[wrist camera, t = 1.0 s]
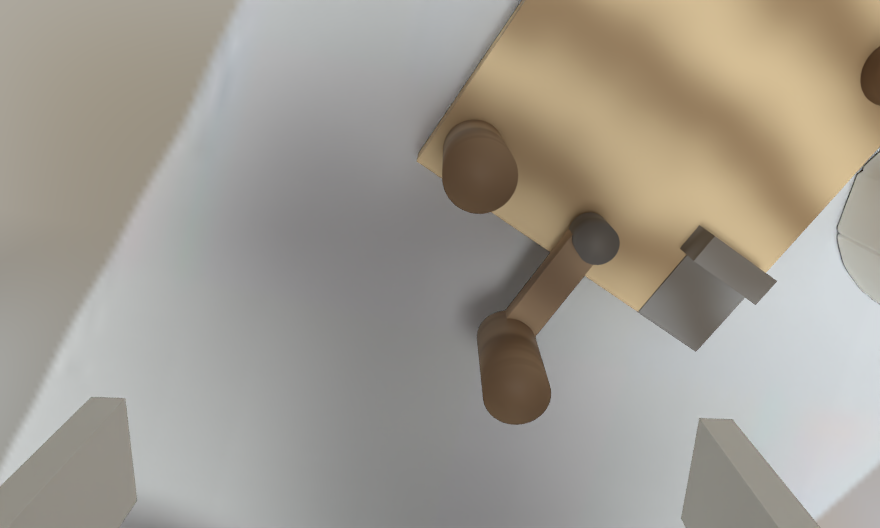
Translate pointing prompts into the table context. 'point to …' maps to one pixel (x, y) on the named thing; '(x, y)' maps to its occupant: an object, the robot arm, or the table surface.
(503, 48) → the stool seat
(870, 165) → the white tall rough piece
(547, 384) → the hinged leg
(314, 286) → the table surface
